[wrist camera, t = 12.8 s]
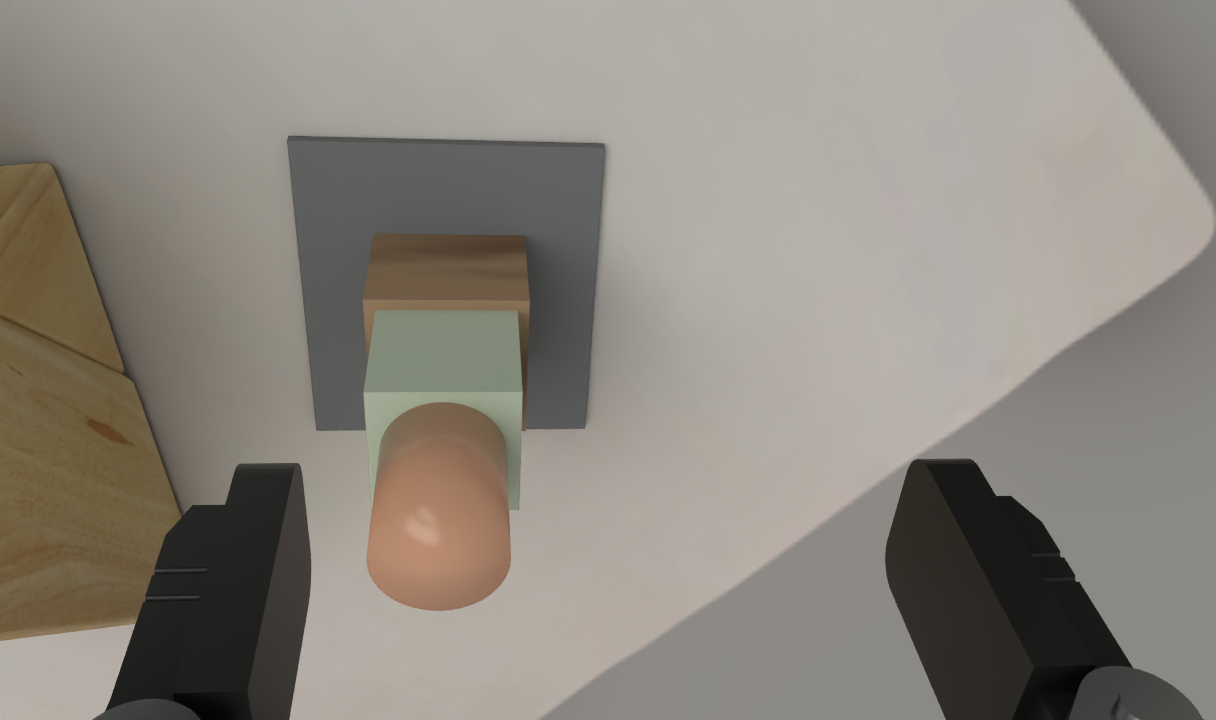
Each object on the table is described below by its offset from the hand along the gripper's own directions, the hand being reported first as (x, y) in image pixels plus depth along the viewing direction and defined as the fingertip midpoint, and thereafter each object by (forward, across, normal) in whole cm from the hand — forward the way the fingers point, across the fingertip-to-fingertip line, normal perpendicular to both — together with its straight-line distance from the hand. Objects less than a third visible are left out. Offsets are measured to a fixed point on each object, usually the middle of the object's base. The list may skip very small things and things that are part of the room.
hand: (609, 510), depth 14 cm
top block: (+30, +3, +18) cm, 35 cm away
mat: (+36, +3, +18) cm, 40 cm away
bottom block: (+36, +3, +18) cm, 40 cm away
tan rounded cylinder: (+24, +3, +18) cm, 30 cm away
